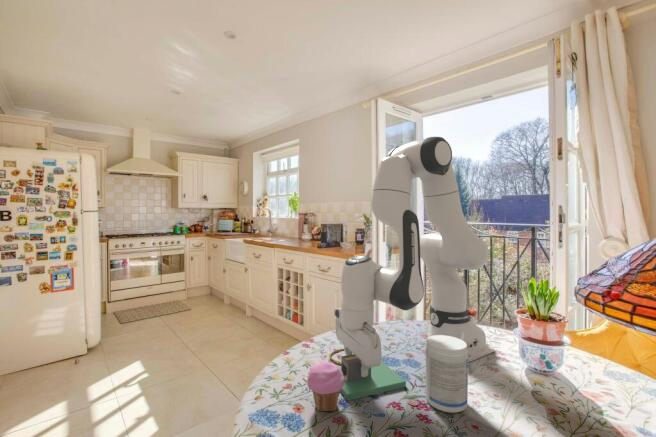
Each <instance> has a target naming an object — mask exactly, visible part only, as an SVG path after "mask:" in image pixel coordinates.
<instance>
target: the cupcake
mask: <svg viewBox="0 0 656 437" xmlns="http://www.w3.org/2000/svg"><path fill="white" fill-rule="evenodd" d="M306 383H307V384H306V385H307V387H308V388H309V390H311V391H312V394H313V401H314V406H315V408H316V409H317V411H320V412H321V411H322V412H335V411H336V410H337V407H338V401H339V397H340V393H341V392H340V390H342V388H343V386H344V383H345V380H344V376H343V373H342V371H341V367H339V366H338V364H336V363H334V362H331V361H330V362H329V361H322V362H320V363H316V364H315V365H312V367H311V368H310V370H309V371H308V375H307V381H306Z"/></svg>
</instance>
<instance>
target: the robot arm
mask: <svg viewBox="0 0 656 437" xmlns="http://www.w3.org/2000/svg"><path fill="white" fill-rule="evenodd" d="M452 159H453V149H452V147H451V144H449V142H448V141H447V139H445V138H444V137H442V136H429V137H426V138H421V139H415V140H412V141H410V142H407V143H405V144H402V145H399V146H395V147H394V148H392V149H391V150H390V151H388V153H387V155H386V157H384V158H382V159H381V160H380V162H379V164H378V167H377V169H376V173H375V177H374V181H373V187H372V191H371V193H372V194H371V200H370V205H371V211H372V213H373V215H374V216H375V218H377V220H378V221H380V223H382V224H384V225H386V226H387V227H389V228H391V229H392V230H393V231H394V232H395V234H396V236H397V239H398V254H399V257H398V261H399V265H398V266H399V267H398V268H391V267H388V266H383V265H381V264H378V263H376V262H375V261H374V260H373V259H372V257H370V256H369V255H355V256H350V257H348V258H347V259H346V260H345V261H344V262H343V263H344V264H343V266H342V271H341V280H340V281H341V283H340V284H341V285H340V288H341V289H340V290H341V295H342V300H341V302H340V307H336V308H334V311H333V312H334V314H333V315H334V317H335V319H334V320H335V321H334V322H335V323H334V324H335V327H334V328H335V336H336V339H337V340H338V341H339V342H340V343H341V344H343V349H344V350H343V351H344V353H345V356H347V355H353V354H354V355H356V356H357V357H358V358H359V359H360V360H361V364H362V367H361V368H359V371H360V372H359V374H360V375H361V376H362V377H366V376H368V369H369V368H370V367H376V366H380V364H381V363H382V362H383V358H382V356H383V355H382V342H381V337H380V335H379V334H378V332H376V328H375V327H373V326H374V325H375V322H374V320H375V304H374V301H378V302H381V303H385V304H388V305H391V306H393V307H395V308H397V309H400V310H402V311H409V310H412V309H413V308H415V307H416V306H418V305H419V303H421V301H422V300H423V297H424V293H425V286H424V281H423V275H422V267H421V264H422V263H421V261H423V262H424V265H425V267H426V269H427V272H428V275H429V276H428V277H429V279H430V291H431V292H430V294H431V296H430V299H431V301H430V302H431V304H430V305H429V328H428V331H427V332H428V334H427V337H426V339H427V338H428V337H430V336H434V335H445V336H452V337H455V338H458V339H461V340H463V341H464V342H465V343H466V344H467V350H468V363H471V362H473V361H475V360H477V359H480V358H483V357H485V356H487V355H490V354H492V353H494V352H495V349H494V347H493V346H492V345H490V344H489V343H488V342H487V338H486V333H485V331H484V330H483V329H482V328H481V327H479V326H478V325H477V324H476V323H474V322H473V321H472V320H471V317H470V316H472V317H476V316H477V315H478V314H477V311H476V310H473V309H467V305H468V304H467V303H468V302H467V300H468V299H467V296H468V294H467V292H468V288H467V285H466V283H465V281H463V280H462V278H460V275H459V274H458V272H457V270H456V269H459V270H465V271H466V270H468V271H469V270H470V271H471V270H479V269H481V268H483V267H484V265H485V264H486V263H487V261H488V258H489V248H488V246H487V244H486V242H485V241H484V240H483V239H481V238H480V237H479V236H478V235H477V234H476V233H475V232H474V231H473V229H472V228H471V226H470V225H469V223H468V222H467V219H466V217H465V214H464V212H463V208H462V204H461V198H460V191H459V185H458V182H457V177H456V174H455V171H454V169H453V165H452V164H451V163H452ZM415 178H419V179H420V181H421V191H422V192H421V193H422V197H423V204H424V209H425V216H426V219H427V220H428V221H429V223H431V224H432V225H433V226H434V227H435V228H436V230H437V231H438V232H437V231H435V232H429V233H425V234H423V235H421V236H420V225H419V224H420V222H419V219H418V215H417V214H416V213H415V212H414V211H413V208H412V204H411V197H412V185H413V184H412V183H413V182H412V180H413V179H415ZM421 259H422V260H421ZM424 347H425V348H426V343H425V345H424Z"/></svg>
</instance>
